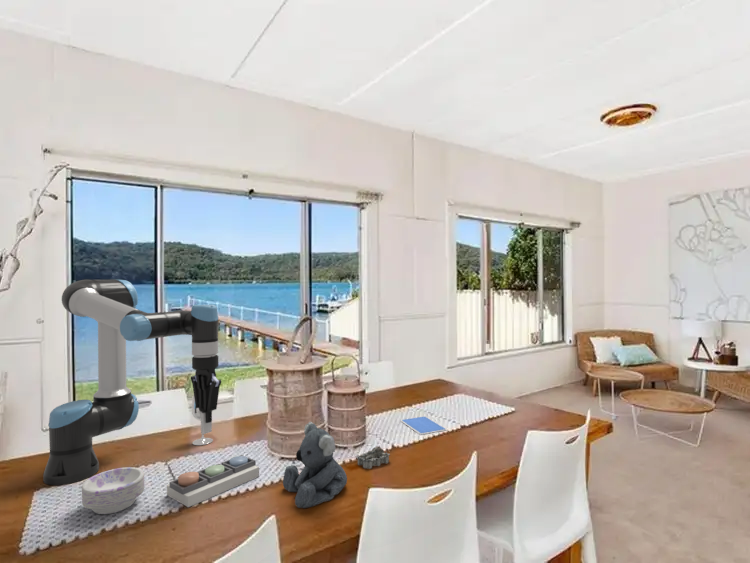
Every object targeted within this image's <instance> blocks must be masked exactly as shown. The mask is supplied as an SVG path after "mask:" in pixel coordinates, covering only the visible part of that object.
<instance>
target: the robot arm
mask: <svg viewBox="0 0 750 563" xmlns="http://www.w3.org/2000/svg"><path fill="white" fill-rule="evenodd" d="M61 303H62V306H63V308H64V309H65V310H66V311H67V312H68V313H71V314H72V315H75V316H77V317H81V318H82V317H83V318H84V317H85V318H86V317H87V318H90V319H93V320H95V322H96V323H97V352H98V353H97V361H98V362H97V369H98V370H97V371H98V372H97V375H98V376H97V377H98V378H97V379H98V382H97V384H98V389H97V391H96V392H95V393H94V394H93V396H92V397H93V400H92V401H91V399H78V400H72V401H68V402H66V403H65V402H64V403H62V404H61V405H58V406H56V407H55V408H53V409H52V410H51V411H50V413H49V419H48V431H49V433H48V435H49V436H48V437H49V439H48V440H49V456H48V459H47V463H46V465H45V468H44V471H43V475H42V476H43V477H42V478H43V483H44V484H45V485H50V486H58V485H59V486H60V485H67V484H72V483H76V482H80V481H82V480H86V479H89V478H91V477H92V476H94V475H96V473H97V474H98V472H99V470H100V462H99V459H98V456H97V455H96V453H95V450H94V448H93V438H94V437H95V438H96V437H98V436H101V435H105V434H107V433H111V432H115V431H119V430H122V429H124V428H126V427H129V426H131V425H133V423H134V422H135V421H136V419H137V418H138V415H139V409H140V406H139V401H138V398H137V396H136V395H135V394H133V393H132V390H131V389H130V388H129V387H127V341H129V342H134V341H135V342H136V341H137V342H139V341H140V342H141V341H145V340H153V339H158V338H164V337H165V338H167V337H175V336H185V335H186V336H187V335H188V336H191V355H192V357H191V359H192V360H191V365H192V370H195V372H194V373H195V375H192V376H190V381H191V383H192V390H193V396H194V398H195V405H196V408H199V411H200V417H201V421H200V434H201V435H202V434H204V435H205V434H208V433H212V432H213V429H212V428H213V427H212V424H213V423H212V422H213V411H216V410H217V408H218V402H219V394H220V387H221V384H222V380H221V379H218V378H217V373H216V369H217V368H218V367H219V355H218V353H219V313H218V307H217V305H216V304H195V305H192V306H191V310H182V309H178V310H177V309H176V310H170V311H164V312H163V311H162V312H161V311H159V312H146V311H143V310H140V309H137V305H139V304H138V303H139V296H138V292H137V290H136V287H135V286H134V285H133V283H132V282H130V281H128V280H125V279H116V278H114V279H82V280H80V279H79V280H77V281H74V282H72V283H70V284H69V285H68V286H67V287H66V288H65V289H64V291H63V292H62V295H61Z"/></svg>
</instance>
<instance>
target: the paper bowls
mask: <svg viewBox="0 0 750 563" xmlns="http://www.w3.org/2000/svg"><path fill="white" fill-rule="evenodd" d="M145 484H146V482H145V472H144V470H143V469H141V468H139V467H138V468H137V467H134V466H133V467H131V466H130V467H129V466H128V467H118V468H112V469H109V470H106V471H102V472H100V473H97V474H94V475H92V476H90V477H88V478H87V480H86V479H85V481H84V483H82V485H81V504H82V506H83V507H84V508H85V509H89V510H92V512H94V513H95V514H98V515H110V514H114V513H119V512H121V511H124V510H126V509H128V508H129V507H131V506H132V505H133V504H134V503H135V502H136V499H138V498H139V497H140V496H141V495H142V494H143V493H144V491H145V488H146V487H145Z"/></svg>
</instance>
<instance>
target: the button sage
mask: <svg viewBox="0 0 750 563" xmlns="http://www.w3.org/2000/svg"><path fill="white" fill-rule="evenodd" d="M204 469H205V475H208V476H210V477H213V476H215V475H218V474H220V473H223V472H224V466H223V465H217V464H213V465H210V466H207V467H205V468H204Z"/></svg>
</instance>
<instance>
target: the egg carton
mask: <svg viewBox="0 0 750 563" xmlns="http://www.w3.org/2000/svg"><path fill="white" fill-rule="evenodd" d="M390 456H391V454H390V453H388V452H387V451H386V452H385V450H384V449H383V448H382V447H381V446H380V445H378V446H375V447H373V448H372V449H371V450H368V451H367V452H364V453H362V454H360V455H356V456H355V457H356V459H357V465H358V466H362V468H363V469H369V470H370V469H373V467H379V466H381V464H389V461H390Z"/></svg>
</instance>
